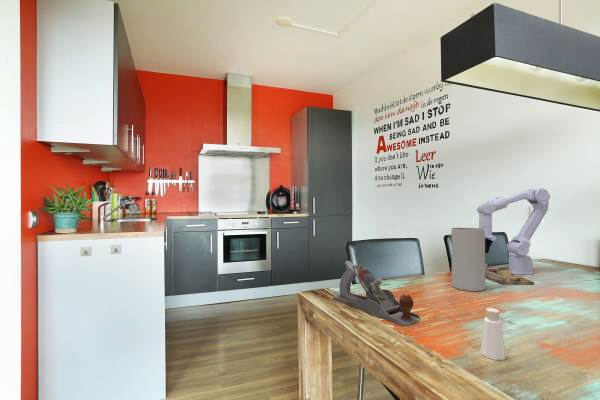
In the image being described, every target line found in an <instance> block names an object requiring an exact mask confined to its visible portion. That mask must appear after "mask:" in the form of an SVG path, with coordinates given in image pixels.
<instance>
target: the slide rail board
mask: <svg viewBox="0 0 600 400" xmlns="http://www.w3.org/2000/svg"><path fill="white" fill-rule="evenodd" d="M488 271H489V272H492V273H495V274H497V275H500V270H496V272H494V270H488ZM511 276H516V274H512V273H511ZM485 279H486V280H489V281H492V282H494V283H496V284H499V285H501V286H512V285H513V286H523V285H524V286H534V285H535V282H534V281H533V280H532V281H531V280H530V279H528V278H527V279H526V278H524V277H523V278H520V280H518V278H508V279H509V282H506V281H503V280H501V279H498V278H496V277H493V276H491V275H488V274H486V273H485Z"/></svg>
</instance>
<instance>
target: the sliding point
mask: <svg viewBox="0 0 600 400" xmlns="http://www.w3.org/2000/svg"><path fill="white" fill-rule="evenodd" d="M507 270H508V269H505V270H502V269H501V270H500V269H499V271H500V277H502V278H518V280H520V278H524V276H523V275H515V276H511V274H512V273H511V272H510V271H507Z"/></svg>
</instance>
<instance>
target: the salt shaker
mask: <svg viewBox="0 0 600 400" xmlns="http://www.w3.org/2000/svg"><path fill="white" fill-rule="evenodd" d="M485 312H486V313H485V314H486V317H484V318H483V325H482V333H481V342H480V352H479V353H480V354H481V355H483V357H485V358H487V359H491V360H494V361H503V360H506V357H507V355H506V348H505V347H506V346H505V339H504V331H503V330H504V329H503V323H502V320H501V319H500V310H499V309H497V308H494V307H487V308H486V309H485Z"/></svg>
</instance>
